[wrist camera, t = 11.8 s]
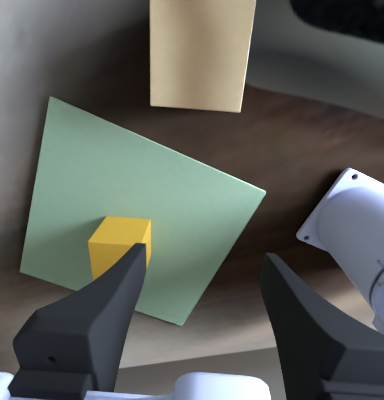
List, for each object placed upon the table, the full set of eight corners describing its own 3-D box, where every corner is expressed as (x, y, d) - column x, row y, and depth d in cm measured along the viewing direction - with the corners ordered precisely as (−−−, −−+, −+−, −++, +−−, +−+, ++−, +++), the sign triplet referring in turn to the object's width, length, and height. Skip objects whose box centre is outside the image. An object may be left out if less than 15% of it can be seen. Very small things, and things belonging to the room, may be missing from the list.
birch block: (245, 17, 17) (256, -1, 14) (233, 107, 20) (240, 112, 16) (160, 11, 17) (149, -9, 14) (159, 102, 20) (150, 105, 16)
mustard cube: (150, 219, 24) (140, 245, 20) (151, 255, 26) (141, 286, 22) (106, 215, 24) (87, 241, 20) (109, 252, 26) (93, 282, 22)
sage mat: (265, 190, 23) (266, 192, 22) (182, 323, 31) (181, 326, 30) (52, 96, 20) (49, 96, 20) (21, 269, 28) (19, 272, 28)
